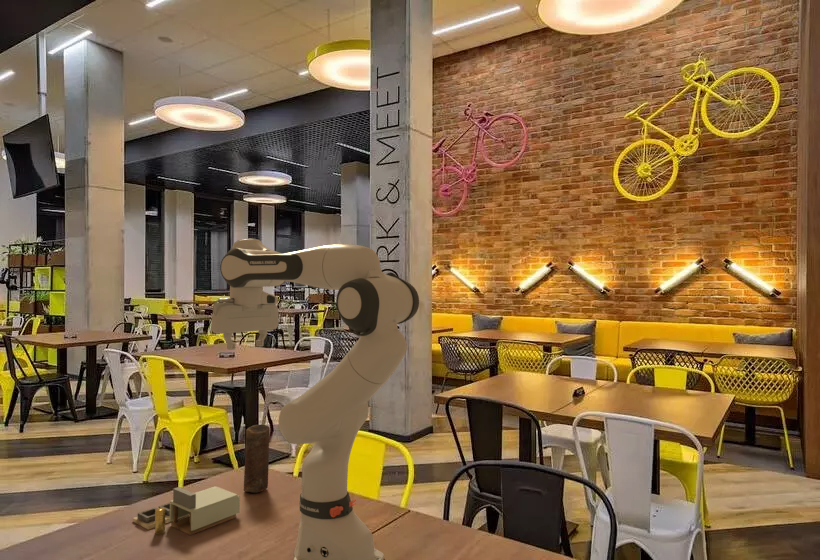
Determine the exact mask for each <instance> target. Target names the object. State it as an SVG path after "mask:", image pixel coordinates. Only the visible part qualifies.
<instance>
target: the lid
mask: <svg viewBox="0 0 820 560" xmlns="http://www.w3.org/2000/svg"><path fill="white" fill-rule="evenodd" d="M172 489H173V490H172V491H173V492H172V494H173V496H172V500H171V499H170V501H169V503H170V521H171V520H173V519H174V505H175V506H178V518H179V519H181V518H180V517H182V518H184V517H183V516H185V515H188V514H190V512H191V531H193V530H196V529H198V528H201V527H204V526H206V525H209V524H211V523H214V522H217V521H219V520H222V519H224V518H227V517H230V516H232V515H235V514H236V515H238V514H239V513H240V504H241V503H240V501H241V500H240V498H241V497H240V495H238V494H237V493H235V492H232V491H229V490H227V489H224V488H222V487H219V486H212V487H208V488H206V489H203V490H200V491H199V490H198V491H196V492H192V491H191V490H190V491H189V490H188V489H184V488H183V487H180V486H178V487H174V488H172ZM188 516H189V515H188ZM185 517H186V516H185ZM171 522H172V521H171Z"/></svg>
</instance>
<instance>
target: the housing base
mask: <svg viewBox="0 0 820 560" xmlns="http://www.w3.org/2000/svg"><path fill="white" fill-rule="evenodd" d="M235 518H237V514H235V515H232V516H230V517H227V518H224V519H222V520H219V521H217V522H214V523H211V524H209V525H206V526H204V527H201V528H198V529H196V530H193V531H191V512H190V515H188V516H185V517H182V518H179V519H178V506H175V505H174V519H173V521H171V522H170V526H171V527H173V528H175V529H177V530H179V531H181V532H183V533H184V534H187V535H189V536H191V535H194V534H196V533H199V532H202V531H205V530H207V529H209V528H212V527H215V526H217V525H221V524H222V523H225V522H228V521H230V520H233V519H235Z"/></svg>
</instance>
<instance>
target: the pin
mask: <svg viewBox="0 0 820 560" xmlns="http://www.w3.org/2000/svg"><path fill="white" fill-rule="evenodd" d="M164 533H166V523H165V508H159V507H158V508H157V509H156V510H155V527H154V534H155V535H163V534H164Z"/></svg>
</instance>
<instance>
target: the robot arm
mask: <svg viewBox="0 0 820 560" xmlns="http://www.w3.org/2000/svg"><path fill="white" fill-rule="evenodd" d="M219 269H220V274H221V276H222V279H224V281H225V283H227V284H228V286H229V298H218V299H217V300H215V301H214V303H213V304H212V316H211V323H210V328H211V329H210V330H211V331H212V332H213V334H223V335H222V336H223V338H224V340H225V343H226V349H227V350H230V351H232V350H236V344H237V343H236V342H233V340H232V337H233V334H234V333H245V332H247V333H248V332H258V334H259V336H258V338H257V339H255V346H256V347H257V348H258V347H259V348H260V347H264V346H265V345H264V343H265V342H264V341H265V339H266V338H267V335H268V331H269V330H270V331H272V330H276V329H277V328H278V326H279V308H278V306H277V305H276V304H278V302H279V300H278V296H276V295H273V294H270V293H268V292H266V291H264V287H265V288H267V287H268V288H269V287H277V286H282V285H283V284H284V283H285V282H291V283H295V284H299V285H305V286H309V287H314V288H318V289H324V290H333V291H335V290H336V291H337V293H336V294H337V295H336V299H335V302H336V303H335V305H336V309H337V313H338V315H339V317H340V318H341V320H342V322H343V323H344V324H345V325H346V326H348V329H349V331H350V332H351V334H353V335H356V336H358V337H359V338H358V340H357V341H356V342H355V344H354V345H353V346H352V347H351V348H350V349H349V351H348V352H347V353H346V354H345V356H344V357H343V358H342V359H341V360H340V361H339V363H338V364H337V365H336V366H335V367H334V368H333V370H331V371H330V372H329V373H328V374H327V375H326V376H324V377H322V378H321V379H320V380H319V381H318V382H316V383H314V385H313V386H311V387H310V388H309V389H307V390H306V391H305V392H304V393H303V394H301V395H300V396H298V397H296V398H294V399H293V400H291V401H290V402H287V403H286V404H284V406H283V407H282V408H281V409H280V412H279V414H278V415H279V416H278V427H279V432H280V433H281V435H282V437H283V438H284V439H285V440H286V441H287V442H288V443H289V444H293V445H305V444H306V445H307V444H313V443H314V444H313V446H312V449H311V450H310V452H309V453H308V454H307V455H306V456H305V458H304V460H303V462H302V466H301V493H300V495H299V511H300V519H299V524H298V525H299V526H298V531H297V539H296V543H295V549H294V551H293V555H294V558H293V560H384V559H385V555H384V553H383V552H382V551H380V550H378V549H377V548H375V541H374V535H373V532H371V530H370V529H369V527H368V526H367V524H366V523H365V522H363V521H362V520H361V518H360V517H359V516H358V515H357V514H356V512H355V511H354V510H353V508H354V507H353V506H355V505H357V504H356V501H357V500H356V499H353V500H351V497H350V493H349V491H348V477H349V474H348V473H349V461H350V458H351V457H350V456H351V452H352V449H353V445H354V442H355V440H356V437H357V434H358V432H359V431H360V429H361V428H362V426H363V425H364V423H365V422H366V421H367V419H368V416H369V410H370V408H369V402H370V400H371V399H372V398H373V396H374V395H376V393H377V392H378V391H379V390H380V389H381V388H382V386H384V385H385V383H386V382H387V381H389V379H390V378H391V377H392V374H394V373H395V371H396V370H397V368H398V367H399V365H400V363H401V362H402V360H403V358H404V357H405V355H406V353H407V350H408V349H407V346H408V344H407V340H406V337H405V335H403V333H402V332H401V331H400V330H399V327H398V325H399V324H403V323H406V322H408V321H409V320H411V319H412V318H414V316H415V315H416V314H417V312H418V309H419V307H420V296H419V293H418V291H417V289H416V288H415V287H414V286H413V284H411V283H410V282H408V281H406V280H404V279H402V278H401V277H399V276H398V275H396V274H395V273H394V272H387V273H384V272H383V270H382V269H381V261H380V258H379V256H378V254H377V253H376V251H375V250H374V249H372V248H370V247H368V246H364V245H358V244H353V243H352V244H351V243H333V244H327V245H326V244H325V245H319V246H316V247H315V246H314V247H310V248H307V249H302V250H297V251H290V252H284V253H282V252H278V251H276V250H273V249H271V248H269V247H267V246H266V245H264V244H263V242H262V241H261V240H260V239H256V238H243V239H239V240H238V239H237V240H236V241H235V242H234V243H233V244H232V247H231V248H230V249H229V250H228V252H226V254H225V255H224V256H223V257H222V259H221V261H220V267H219Z"/></svg>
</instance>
